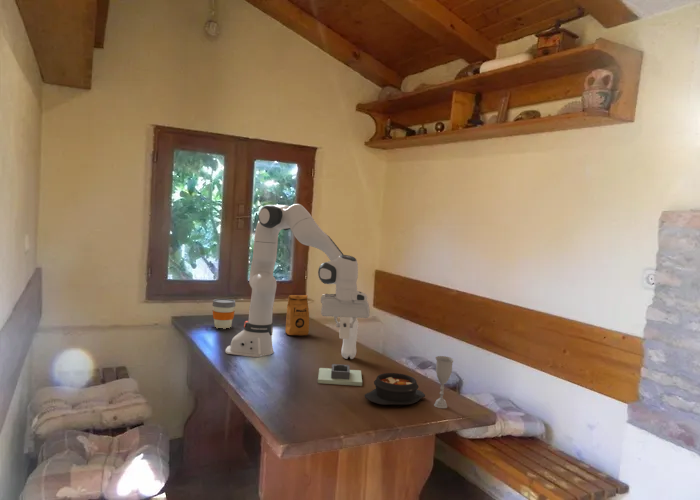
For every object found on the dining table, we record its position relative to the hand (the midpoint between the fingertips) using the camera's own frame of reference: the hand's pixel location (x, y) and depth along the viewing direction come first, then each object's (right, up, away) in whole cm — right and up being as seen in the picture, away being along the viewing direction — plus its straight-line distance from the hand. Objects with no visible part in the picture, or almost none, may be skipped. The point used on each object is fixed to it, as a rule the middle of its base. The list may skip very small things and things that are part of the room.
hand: (344, 327), depth 226 cm
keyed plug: (0, -4, 0) cm, 4 cm away
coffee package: (-27, -15, +73) cm, 79 cm away
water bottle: (+2, -20, +33) cm, 39 cm away
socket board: (-2, -22, +1) cm, 22 cm away
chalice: (+36, -26, -23) cm, 50 cm away
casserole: (+19, -25, -20) cm, 37 cm away
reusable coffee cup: (-69, -11, +78) cm, 105 cm away
